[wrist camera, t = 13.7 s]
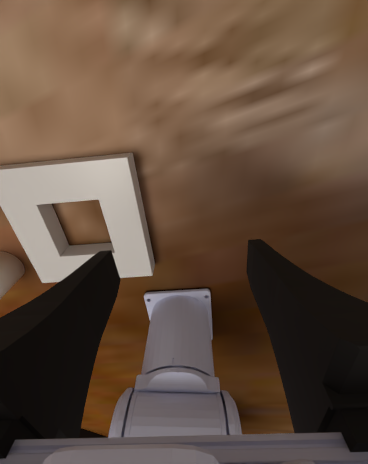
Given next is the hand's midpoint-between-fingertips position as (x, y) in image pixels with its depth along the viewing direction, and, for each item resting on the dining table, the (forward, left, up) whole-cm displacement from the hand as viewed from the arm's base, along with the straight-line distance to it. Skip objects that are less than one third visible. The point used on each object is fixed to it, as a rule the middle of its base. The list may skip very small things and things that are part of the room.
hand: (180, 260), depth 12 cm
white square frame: (-2, +10, -10) cm, 15 cm away
